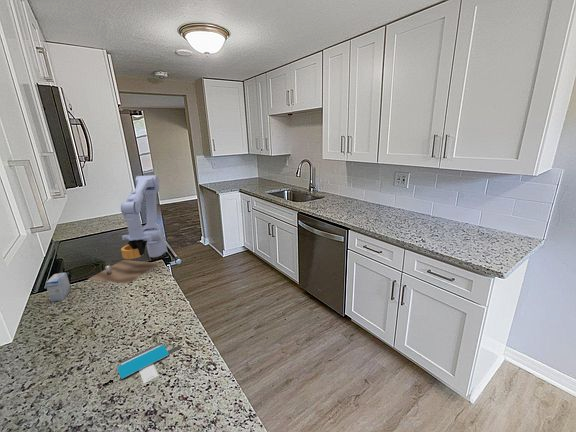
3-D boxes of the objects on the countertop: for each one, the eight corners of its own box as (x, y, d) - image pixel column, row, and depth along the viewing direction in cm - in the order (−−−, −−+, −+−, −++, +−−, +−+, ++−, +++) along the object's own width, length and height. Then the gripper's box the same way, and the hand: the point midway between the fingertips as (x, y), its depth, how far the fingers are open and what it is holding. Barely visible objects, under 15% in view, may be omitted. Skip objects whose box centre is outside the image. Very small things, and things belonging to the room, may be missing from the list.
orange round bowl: (133, 250, 131) (131, 242, 130) (148, 251, 129) (147, 244, 128) (118, 258, 122) (116, 250, 121) (135, 259, 121) (133, 251, 119)
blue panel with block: (106, 406, 64) (105, 401, 63) (100, 374, 72) (99, 369, 72) (189, 361, 76) (188, 356, 75) (175, 338, 85) (174, 334, 84)
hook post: (109, 272, 125) (107, 265, 124) (113, 273, 125) (111, 265, 123) (106, 274, 123) (104, 267, 122) (109, 275, 123) (107, 267, 122)
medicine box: (59, 292, 113) (53, 273, 110) (71, 289, 114) (66, 271, 112) (50, 302, 106) (44, 283, 103) (64, 299, 107) (58, 280, 105)
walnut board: (123, 262, 139) (122, 259, 138) (159, 265, 134) (159, 262, 133) (88, 282, 120) (87, 279, 120) (129, 286, 115) (128, 283, 115)
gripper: (114, 229, 119) (120, 257, 123) (142, 230, 116) (147, 259, 119) (126, 224, 125) (132, 250, 129) (153, 225, 122) (158, 252, 126)
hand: (140, 254), depth 125 cm, fingers closed on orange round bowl, 2 cm apart
